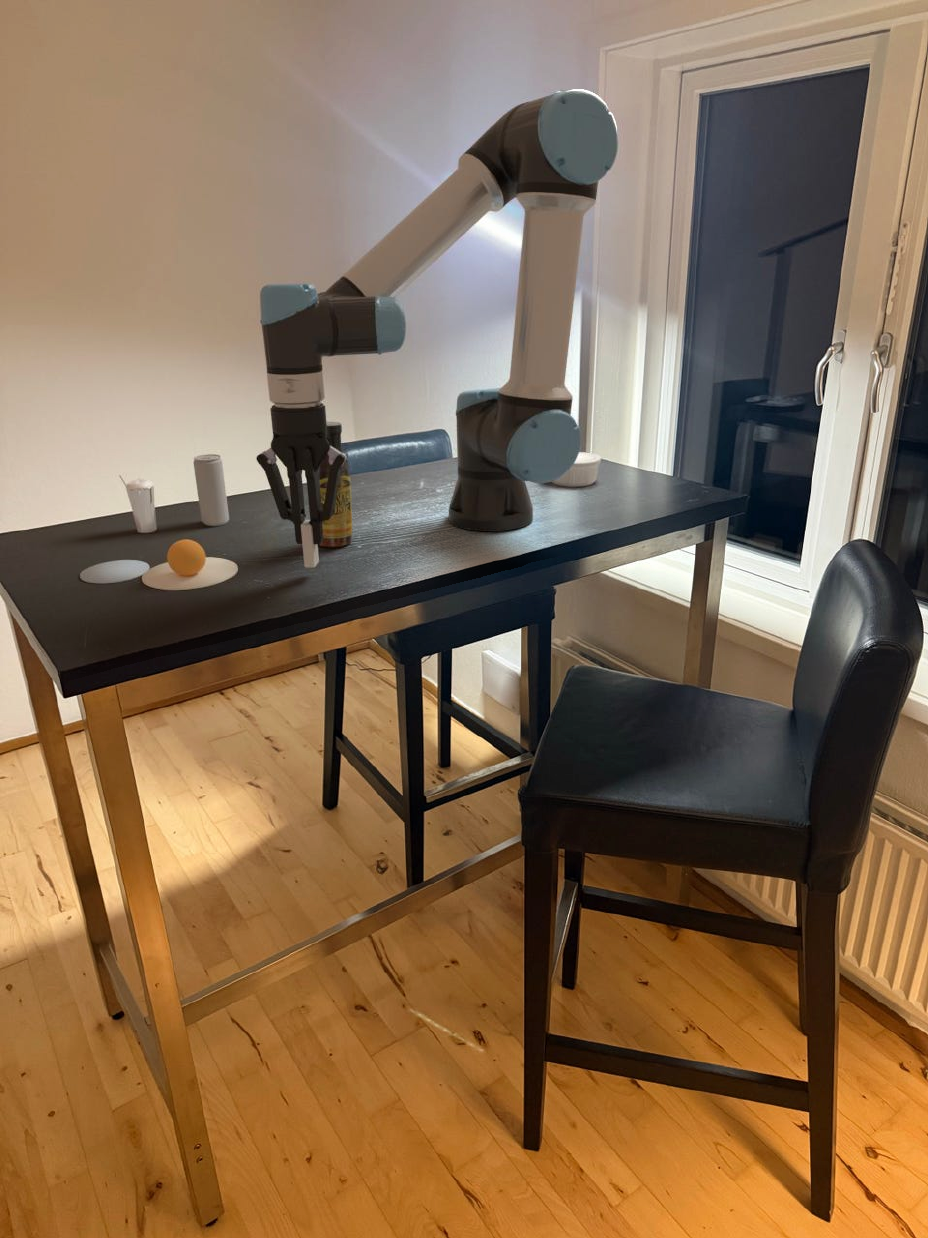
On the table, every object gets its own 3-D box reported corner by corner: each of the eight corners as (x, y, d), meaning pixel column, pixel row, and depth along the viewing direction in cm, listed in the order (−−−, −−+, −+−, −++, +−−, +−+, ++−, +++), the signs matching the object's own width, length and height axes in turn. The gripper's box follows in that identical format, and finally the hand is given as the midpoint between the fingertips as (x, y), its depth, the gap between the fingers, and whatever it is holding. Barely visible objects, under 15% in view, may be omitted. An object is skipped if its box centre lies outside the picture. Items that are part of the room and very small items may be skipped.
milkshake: (132, 527, 153) (123, 472, 149) (163, 526, 153) (154, 471, 149) (125, 534, 148) (115, 478, 144) (157, 533, 149) (147, 477, 145)
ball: (207, 534, 129) (172, 531, 129) (195, 552, 124) (158, 550, 125) (212, 565, 132) (177, 562, 132) (201, 584, 127) (165, 581, 128)
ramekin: (541, 476, 183) (541, 452, 181) (592, 474, 184) (593, 450, 182) (551, 489, 173) (552, 464, 171) (605, 487, 174) (607, 461, 172)
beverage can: (222, 527, 152) (213, 460, 147) (197, 526, 153) (187, 459, 148) (234, 519, 156) (226, 454, 151) (209, 518, 157) (201, 453, 152)
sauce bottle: (322, 551, 139) (311, 428, 131) (311, 541, 144) (299, 422, 136) (360, 545, 141) (352, 424, 133) (347, 535, 146) (338, 418, 139)
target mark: (254, 562, 134) (254, 560, 134) (206, 593, 122) (206, 592, 122) (176, 555, 138) (176, 554, 138) (122, 585, 125) (122, 584, 125)
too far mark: (162, 563, 134) (162, 562, 134) (123, 586, 125) (122, 584, 125) (108, 559, 137) (107, 557, 137) (65, 580, 128) (65, 579, 128)
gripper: (242, 407, 115) (261, 572, 125) (337, 407, 114) (349, 573, 123) (260, 398, 122) (276, 555, 131) (349, 398, 121) (360, 556, 130)
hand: (311, 564), depth 127 cm, fingers closed
